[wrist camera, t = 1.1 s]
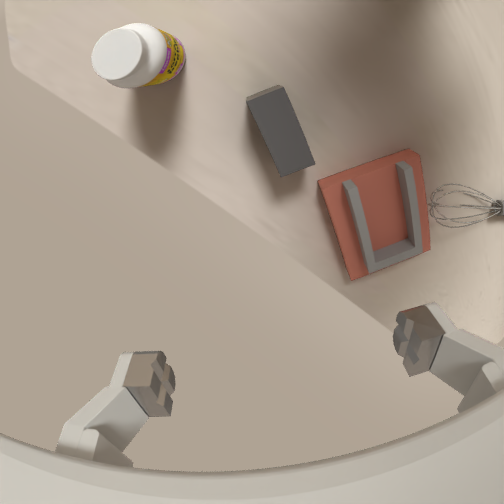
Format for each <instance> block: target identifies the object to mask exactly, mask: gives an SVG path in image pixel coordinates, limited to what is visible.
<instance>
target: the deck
mask: <svg viewBox="0 0 504 504" xmlns="http://www.w3.org/2000/svg"><path fill="white" fill-rule="evenodd" d="M318 183H319V186H320V189H321V192H322V194H323V197H324V200H325V203H326V206H327V209H328V212H329V215H330V218H331V221H332V224H333V227H334V230H335V233H336V236H337V239H338V242H339V246H340V249H341V252H342V255H343V259H344V262H345V265H346V269H347V271H348V274H349V276H350V279H351V281H353V280H355V279H358V278H361V277H363V276H366V275H369V274H371V273H374V272H376V271H379V270H382V269H384V268H387V267H389V266H392V265H394V264H397V263H399V262H402V261H404V260H407V259H409V258H412V257H414V256H417V255H419V254H422V253H424V252H426V251H429V250H430V233H429V221H428V211H427V202H426V193H425V186H424V179H423V173H422V167H421V161H420V155H418V154H417V153H415V152H414V151H412V150H411V149H406V150H403V151H400V152H397V153H394V154H391V155H388V156H385V157H382V158H379V159H377V160H374V161H371V162H368V163H365V164H362V165H359V166H357V167H354V168H351V169H348V170H345V171H343V172H340V173H337V174H334V175H332V176H329V177H326V178H323V179H321V180H318Z"/></svg>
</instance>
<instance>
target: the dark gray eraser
mask: <svg viewBox="0 0 504 504" xmlns="http://www.w3.org/2000/svg"><path fill="white" fill-rule="evenodd" d="M246 102H247V104H248V106H249V109H250V111H251V113H252V115H253V117H254V119H255V121H256V123H257V125H258V127H259V130H260V132H261V134H262V136H263V138H264V140H265V143H266V145H267V147H268V149H269V151H270V154H271V156H272V158H273V160H274V163H275V165H276V167H277V169H278V172H279V174H280V176H281V177H283V176H286V175H288V174H291V173H293V172H296V171H299V170H301V169H304V168H307V167H309V166H312V165H315V162H314V159H313V157H312V154H311V151H310V149H309V146H308V144H307V141H306V139H305V136H304V134H303V131H302V129H301V126H300V124H299V121H298V119H297V117H296V114H295V112H294V109H293V107H292V105H291V102H290V100H289V98H288V96H287V93H286V91H285V89H284V87H282V86H280V85H277V86H274V87H271V88H269V89H266V90H264V91H261V92H259V93H256V94H254V95H251V96H249V97H247V100H246Z"/></svg>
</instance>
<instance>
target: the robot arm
mask: <svg viewBox="0 0 504 504" xmlns="http://www.w3.org/2000/svg"><path fill="white" fill-rule="evenodd" d="M396 321H397V323H398V324H399V325H398V326H397V327H396V328H395V329H394V334H393V342H394V346H395V349H396V351H397V353H398V355H400V356H402V357H404V360H403V365H404V366H405V369H406V371H407V373H408V375H409V377H411V376H413V375H417V374H420V373H423V372H426V371H429V370H430V372H431V373H432V374H434V375H435V376H437V377H438V378H440V379H441V380H442V381H444V382H445V383H447V384H448V385H449V386H451V387H452V388H454V389H455V390H457V391H458V392H459V393H461V394H463V395H464V396H465V397H464V398H463V400H462V401H461V403H460V404H459V406H458V411H459V414H457V415H454V416H453V417H450V418H448V419H446V420H444V421H442V422H439V423H437V424H435V425H433V426H430V427H428V428H425V429H423V430H420V431H418V432H415V433H413V434H410V435H407V436H405V437H402V438H399V439H396V440H393V441H390V442H387V443H384V444H381V445H378V446H375V447H371V448H368V449H364V450H361V451H357V452H353V453H349V454H345V455H341V456H337V457H332V458H328V459H323V460H318V461H313V462H308V463H302V464H296V465H289V466H282V467H274V468H265V469H255V470H242V471H224V472H184V471H183V472H182V471H165V470H151V469H142V468H133V462H132V461H131V460H130V459H129V458H128V457H127V456H125V455H124V454H123V453H122V452H123V450H124V449H125V448H126V447H127V446H128V444H129V443H130V442H131V440H132V439H133V438H134V437H135V435H136V434H137V433H138V431H139V430H140V429H141V427H142V426H143V425H144V424H145V422H146V421H147V420H148V419H149V417H159V416H171V410H172V403H173V401H172V399H171V397H170V395H171V394H172V393H173V392H174V390H175V376H174V372H173V370H172V368H171V366H170V365H168V364H166V356H165V355H164V353H163V352H162V351H144V352H123V353H122V354H121V355H120V357H119V360H118V363H117V365H116V368H115V371H114V374H113V377H112V379H111V382H110V386H109V387H105V388H104V389H103V390H102V391H100V392H99V393H98V394H97V395H96V396H95V397H94V398H93V399H92V400H90V401H89V402H88V403H87V404H86V405H85V406H84V407H83V408H81V409H80V410H79V411H78V412H77V413H76V414H75V415H74V416H73V417H72V418H70V419H69V420H68V421H67V422H66V423H65V424H64V427H63V430H62V433H61V435H60V438H59V441H58V444H57V447H56V451H55V452H53V451H50V450H47V449H43V448H40V447H37V446H34V445H31V444H28V443H25V442H22V441H19V440H17V439H14V438H11V437H9V436H6V435H4V434H2V433H0V504H504V348H503V347H501V346H499V345H496V344H494V343H492V342H490V341H488V340H486V339H483V338H481V337H479V336H477V335H475V334H472V333H470V332H468V331H466V330H464V329H457V327H456V326H455V325H454V323H453V322H452V321H451V320H450V318H449V317H448V316H447V314H446V313H445V312H444V311H443V309H442V308H441V307H440V306H439V304H438V303H436V302H432V303H428V304H425V305H423V306H418V307H415V308H411V309H408V310H404V311H400V312H399V313H398V315H397V319H396Z"/></svg>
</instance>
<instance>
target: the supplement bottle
mask: <svg viewBox="0 0 504 504" xmlns="http://www.w3.org/2000/svg"><path fill="white" fill-rule="evenodd" d="M91 61H92V66H93V69H94V71H95V72H96V73H97V74H98V75H99V76H100V77H101V78H103V79H106V80H107V81H108V82H109V83H111V84H112V85H114V86H117V87H119V88H136V87H142V86H149V85H156V84H161V83H165V82H167V81H169V80H171V79H173V78H174V77H175V76H176V75H177V74H178V73H179V72H180V71H181V69H182V67H183V65H184V62H185V49H184V47H183V45H182V43H181V42H180V41H179V40H178V39H177V38H176V37H174V36H172V35H170V34H168V33H166V32H164V31H162V30H160V29H157V28H155V27H153V26H151V25H148V24H144V23H133V24H128V25H125V26H123V27H121V28H118V29H114V30H111V31H109V32H107V33H106V34H104V35H103V36H102V37H101V38H100V39H99V40H98V41H97V43H96V45H95V46H94V49H93V52H92V58H91Z"/></svg>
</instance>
